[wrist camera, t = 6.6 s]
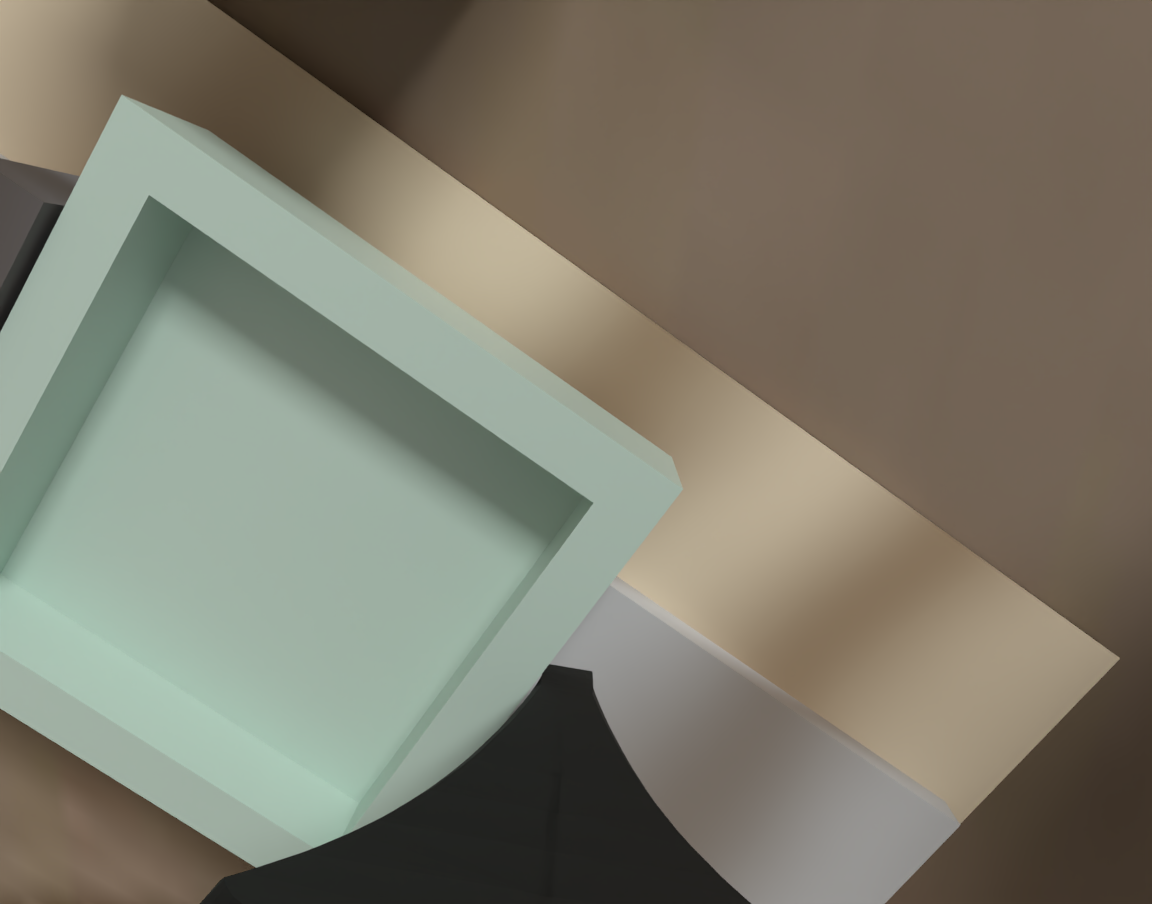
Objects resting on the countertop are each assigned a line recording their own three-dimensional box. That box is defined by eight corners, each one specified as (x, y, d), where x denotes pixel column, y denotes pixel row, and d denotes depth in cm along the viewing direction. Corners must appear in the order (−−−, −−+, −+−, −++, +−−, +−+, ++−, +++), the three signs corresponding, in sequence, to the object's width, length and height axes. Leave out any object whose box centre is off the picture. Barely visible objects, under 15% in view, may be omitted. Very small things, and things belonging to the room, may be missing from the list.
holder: (672, 457, 11) (682, 489, 9) (388, 833, 13) (348, 925, 11) (208, 130, 11) (121, 94, 9) (-29, 568, 12) (-145, 617, 10)
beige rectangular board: (1104, 647, 13) (1276, 770, 9) (713, 1056, 15) (740, 1275, 12) (33, -125, 11) (-213, -305, 8) (-232, 458, 13) (-513, 511, 10)
